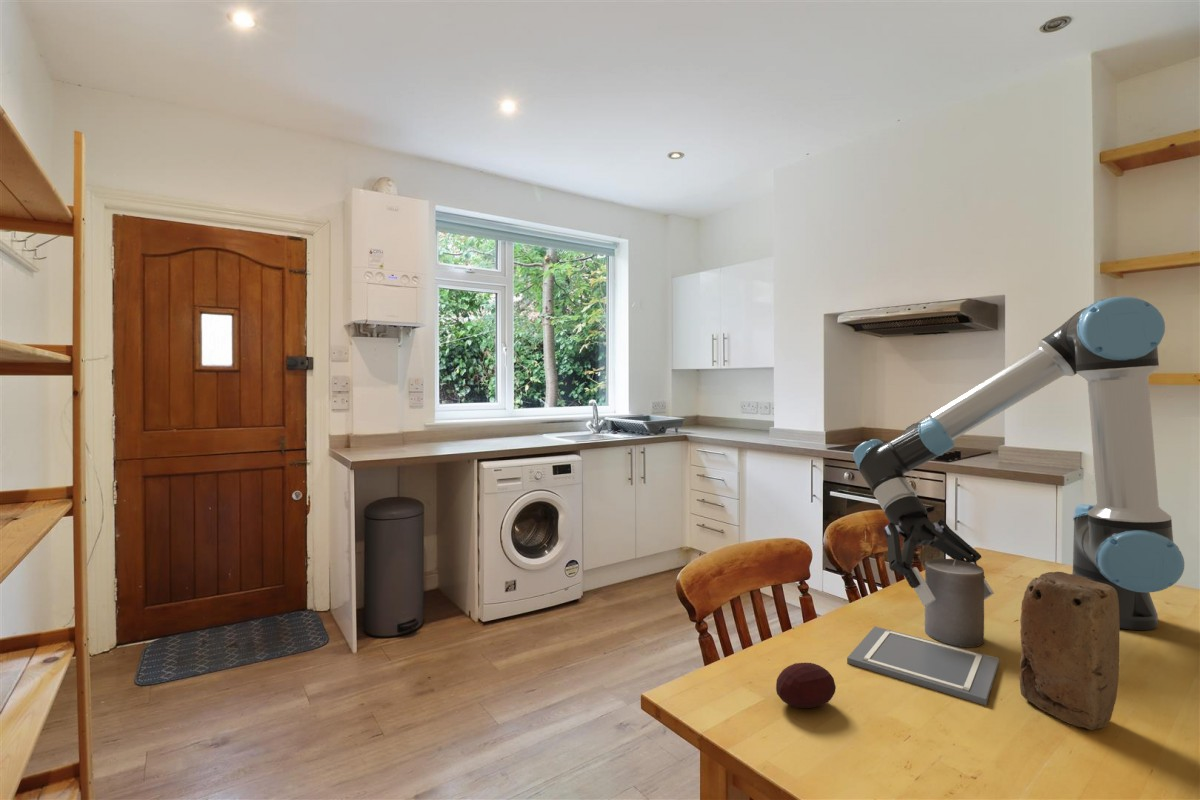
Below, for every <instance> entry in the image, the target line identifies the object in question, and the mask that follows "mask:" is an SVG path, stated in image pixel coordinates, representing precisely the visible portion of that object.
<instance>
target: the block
mask: <svg viewBox="0 0 1200 800" xmlns="http://www.w3.org/2000/svg"><path fill="white" fill-rule="evenodd" d="M1021 600H1022V601H1021V609H1020V610H1021V611H1020V632H1019V633H1020V645H1021V653H1020V655H1021V656H1020V660H1019V661H1020V662H1019V689H1020V690H1019V691H1020V694H1021V696H1022V697H1023V698H1024V699H1025V700H1027V702H1030V703H1032V704H1034V706H1036V707H1037V708H1038V709H1040V710H1042V711H1043V712H1046V713H1048V714H1050V715H1051V716H1053V717H1055V718H1057V719H1059V720H1061V721H1063V722H1065V723H1067V724H1070V725H1073V726H1075V727H1078V728H1085V729H1088V730H1093V731H1094V730H1099V729H1102V728H1105V727H1106V726H1108V724H1109V722H1110V721H1111V719H1112V715H1113V713H1114V708H1115V705H1116V700H1117V694H1118V686H1119V676H1120V629H1121V628H1120V622H1119V602H1118V594H1117V591H1116V590H1115V589H1114V587H1112V586H1110V585H1108V584H1104V583H1100V582H1095V581H1093V580H1090V579H1088V578H1086V577H1083V576H1080V575H1075V574H1072V573H1071V574H1070V573H1066V572H1064V571H1049V572H1048V571H1047V572H1046V573H1045V572H1044V573H1041V574H1040V575H1039V576H1038V577H1034V578H1033V579H1031V581H1030V582H1029V583H1028V585H1027V586H1026V589H1025V591H1024V596H1023V598H1022V599H1021Z"/></svg>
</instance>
